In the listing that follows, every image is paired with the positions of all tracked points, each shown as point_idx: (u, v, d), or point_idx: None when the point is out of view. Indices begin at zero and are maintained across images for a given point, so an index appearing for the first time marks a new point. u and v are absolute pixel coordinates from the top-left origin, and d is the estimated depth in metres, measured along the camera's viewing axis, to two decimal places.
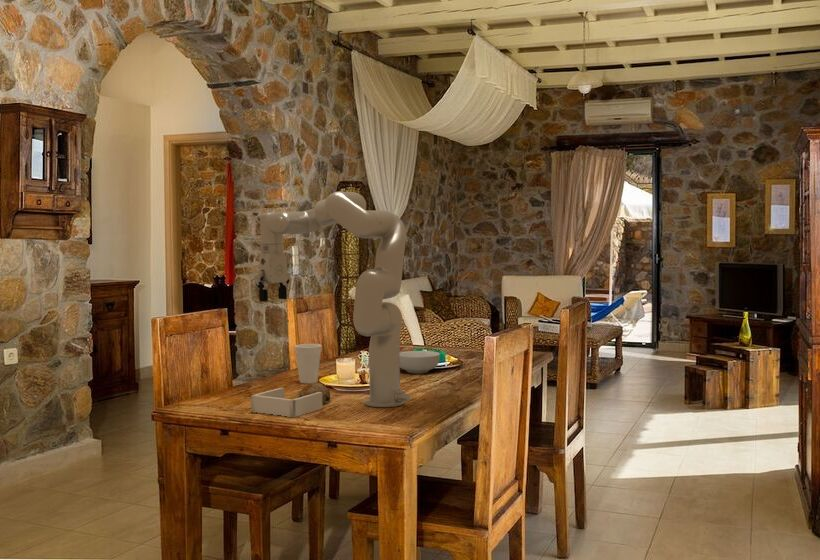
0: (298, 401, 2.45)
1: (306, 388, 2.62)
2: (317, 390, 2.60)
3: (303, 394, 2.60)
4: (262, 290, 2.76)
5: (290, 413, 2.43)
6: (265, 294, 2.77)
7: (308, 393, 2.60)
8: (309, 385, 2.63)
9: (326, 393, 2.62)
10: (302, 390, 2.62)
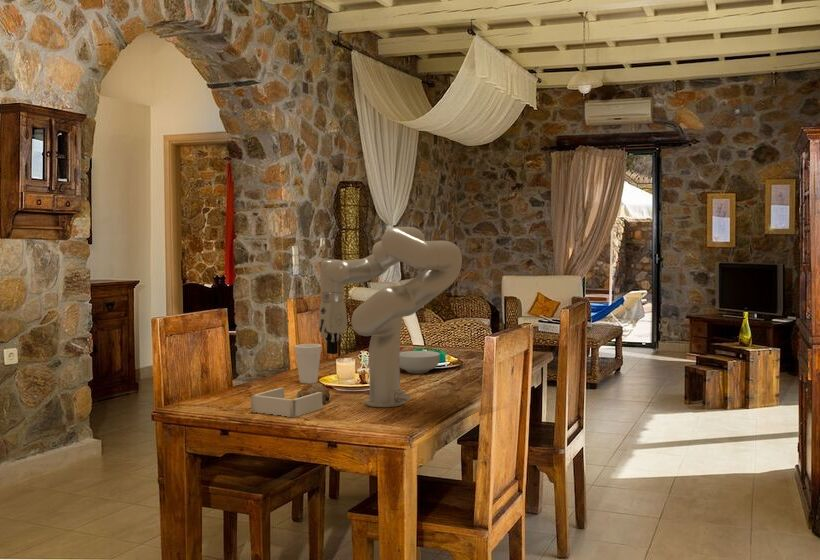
0: (298, 401, 2.45)
1: (306, 388, 2.62)
2: (317, 390, 2.60)
3: (303, 394, 2.60)
4: (330, 343, 2.71)
5: (290, 413, 2.43)
6: (333, 347, 2.71)
7: (308, 393, 2.60)
8: (309, 385, 2.63)
9: (326, 393, 2.62)
10: (302, 390, 2.62)
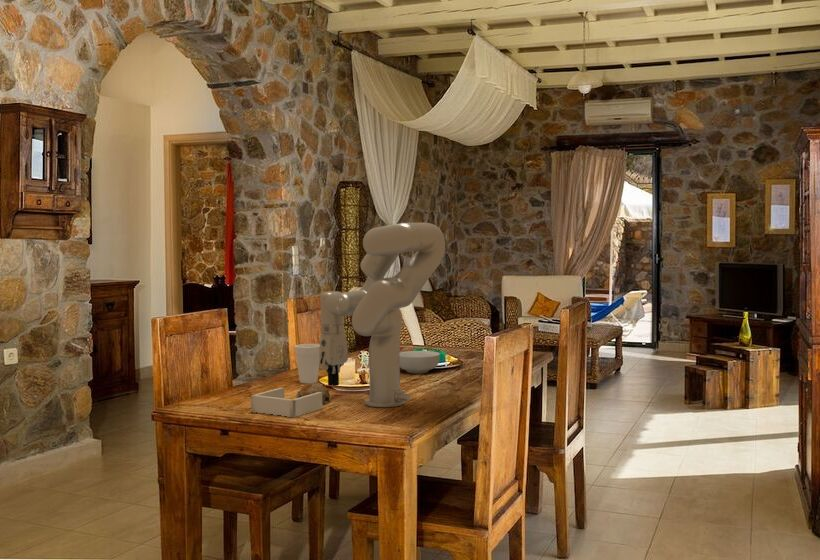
0: (298, 401, 2.45)
1: (305, 388, 2.62)
2: (316, 390, 2.60)
3: (302, 394, 2.60)
4: (331, 375, 2.71)
5: (290, 413, 2.43)
6: (334, 378, 2.71)
7: (307, 393, 2.60)
8: (308, 385, 2.63)
9: (325, 393, 2.62)
10: (301, 390, 2.62)
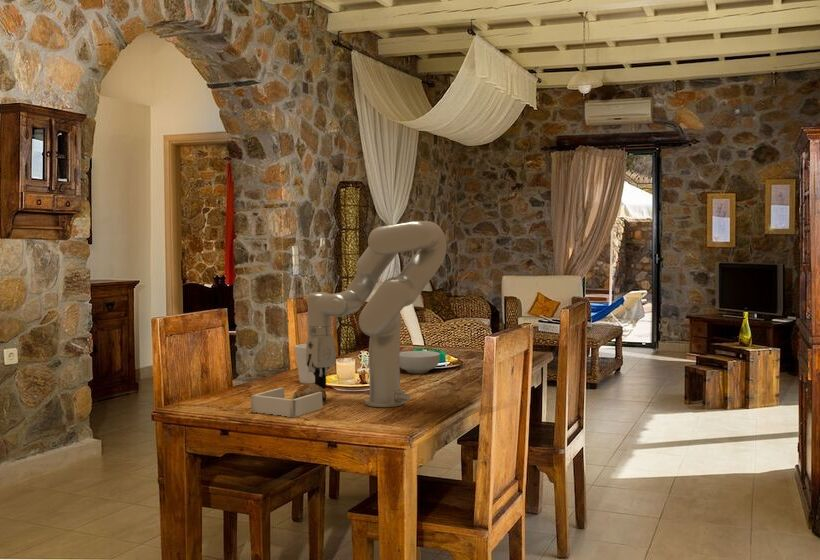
0: (298, 401, 2.45)
1: (302, 389, 2.61)
2: (313, 390, 2.59)
3: (299, 395, 2.59)
4: (318, 377, 2.66)
5: (290, 413, 2.43)
6: (321, 381, 2.66)
7: (304, 394, 2.58)
8: (305, 386, 2.62)
9: (322, 393, 2.61)
10: (298, 391, 2.61)
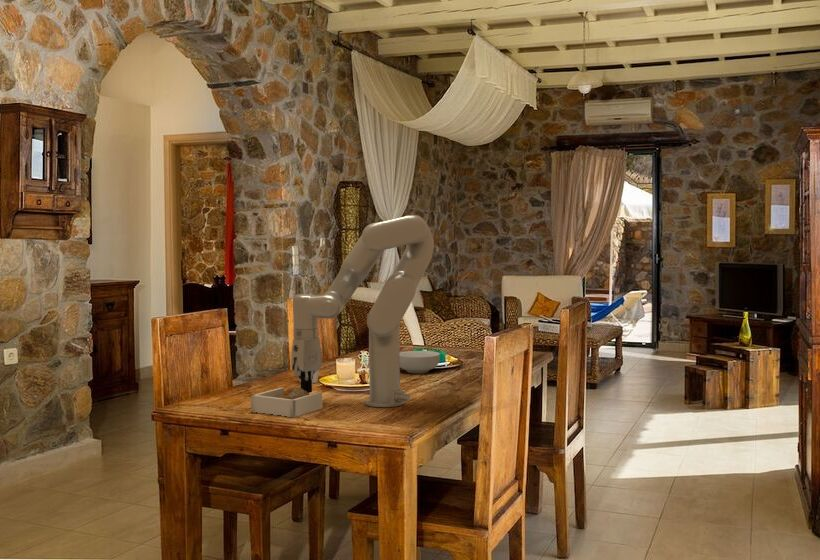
0: (298, 401, 2.45)
1: (286, 393, 2.55)
2: (298, 395, 2.53)
3: None
4: (303, 381, 2.59)
5: (290, 413, 2.43)
6: (307, 385, 2.60)
7: (288, 398, 2.52)
8: (290, 390, 2.56)
9: None
10: (282, 395, 2.55)
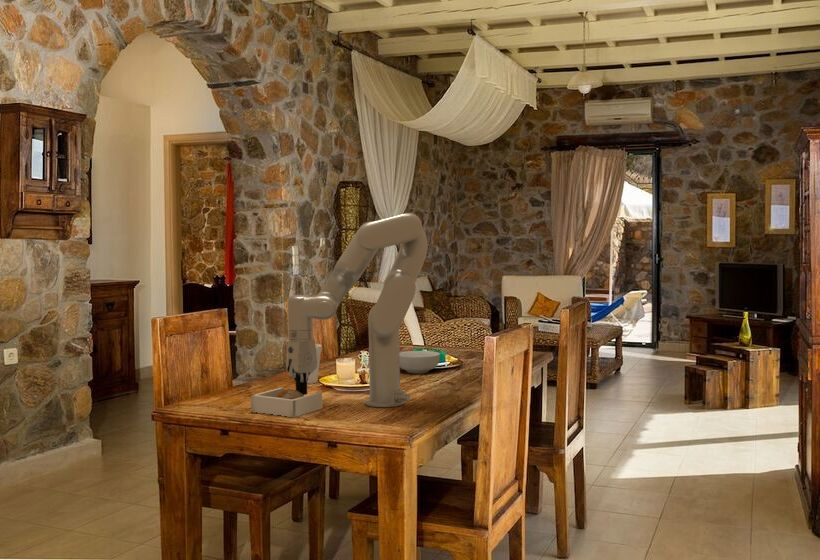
0: (298, 401, 2.45)
1: (281, 394, 2.52)
2: (292, 397, 2.50)
3: None
4: (299, 383, 2.57)
5: (290, 413, 2.43)
6: (302, 387, 2.57)
7: None
8: (284, 391, 2.53)
9: None
10: (277, 397, 2.53)
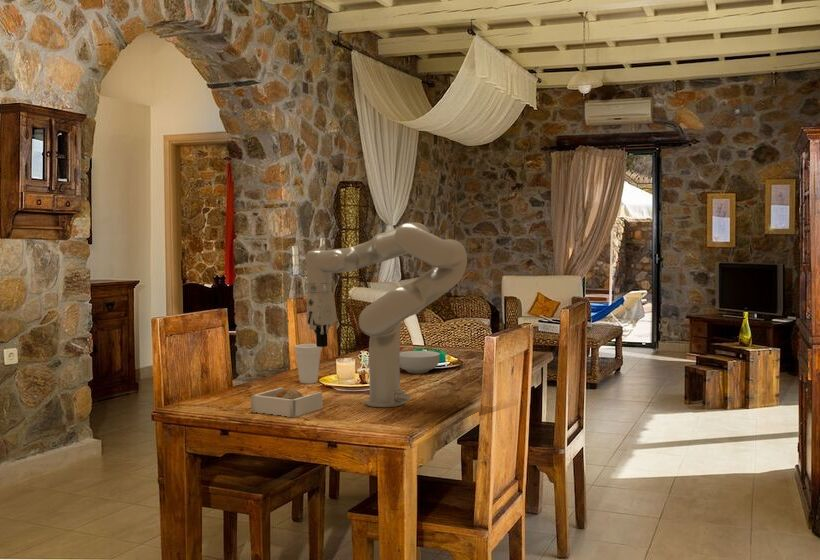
0: (298, 401, 2.45)
1: (280, 395, 2.52)
2: (292, 397, 2.50)
3: None
4: (319, 335, 2.64)
5: (290, 413, 2.43)
6: (323, 339, 2.65)
7: None
8: (284, 391, 2.53)
9: None
10: (276, 397, 2.52)
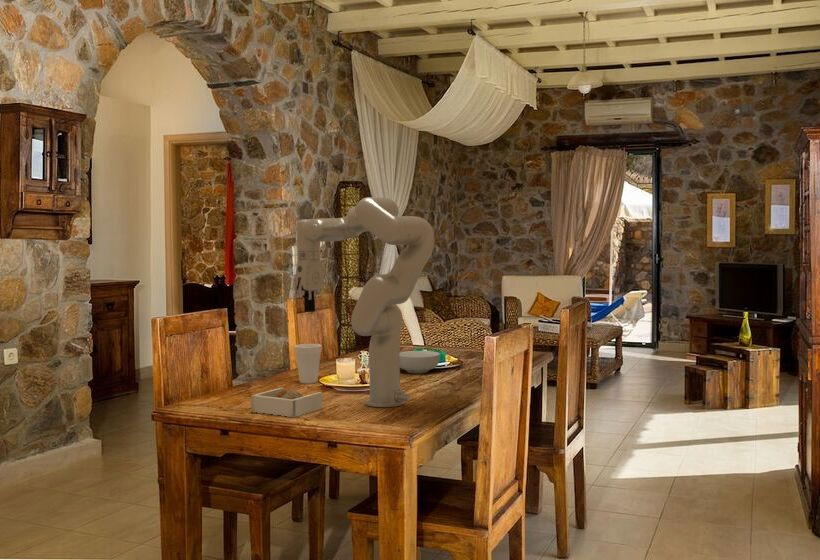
0: (298, 401, 2.45)
1: (280, 395, 2.52)
2: (291, 397, 2.50)
3: None
4: (307, 301, 2.77)
5: (290, 413, 2.43)
6: (310, 304, 2.78)
7: None
8: (283, 391, 2.53)
9: None
10: (276, 397, 2.52)
